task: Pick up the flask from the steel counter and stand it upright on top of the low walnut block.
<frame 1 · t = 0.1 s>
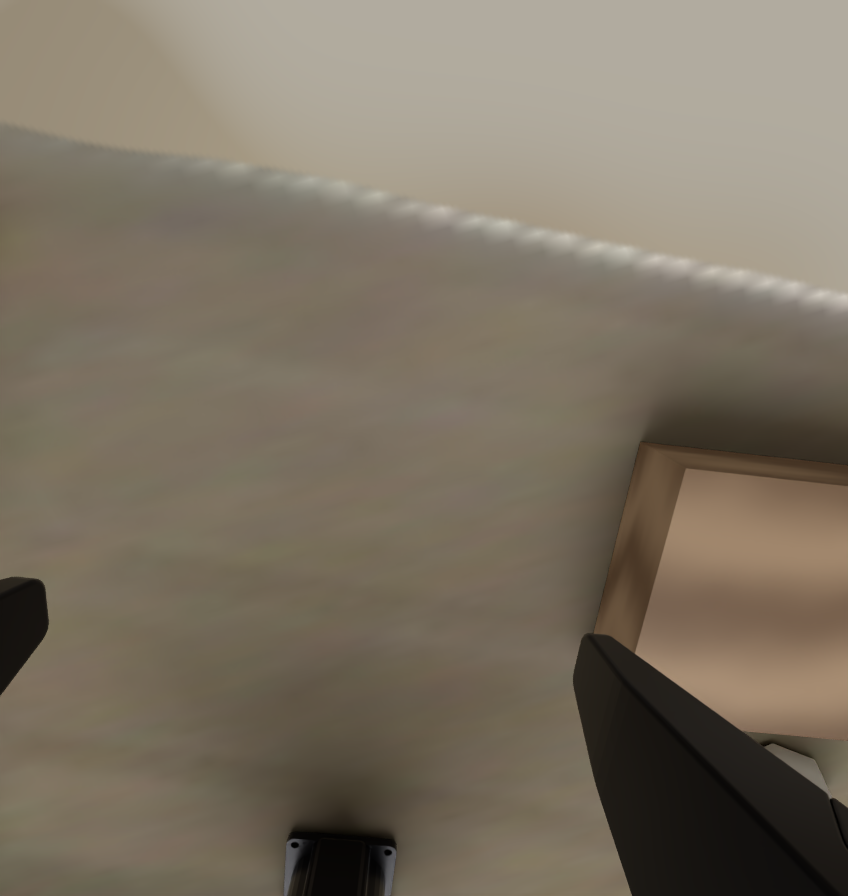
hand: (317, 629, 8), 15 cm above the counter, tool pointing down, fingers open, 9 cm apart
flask: (757, 788, 28), on the counter
walnut block: (728, 569, 24), on the counter
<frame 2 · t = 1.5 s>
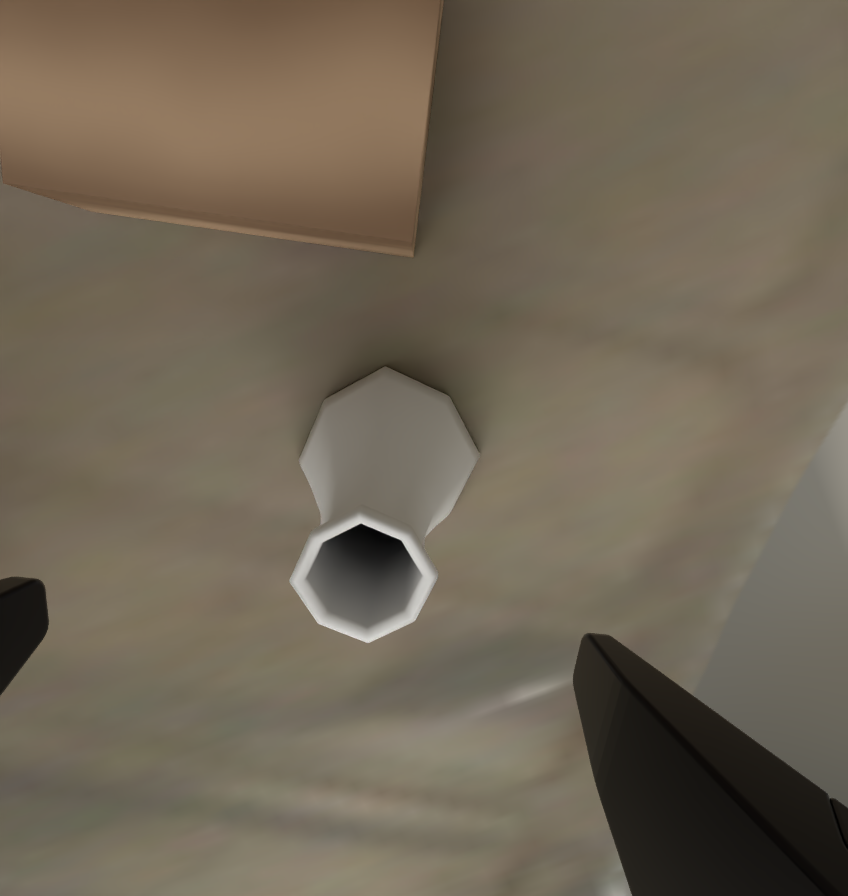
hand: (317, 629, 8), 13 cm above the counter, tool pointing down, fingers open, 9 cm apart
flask: (390, 454, 21), on the counter
walnut block: (262, 48, 17), on the counter
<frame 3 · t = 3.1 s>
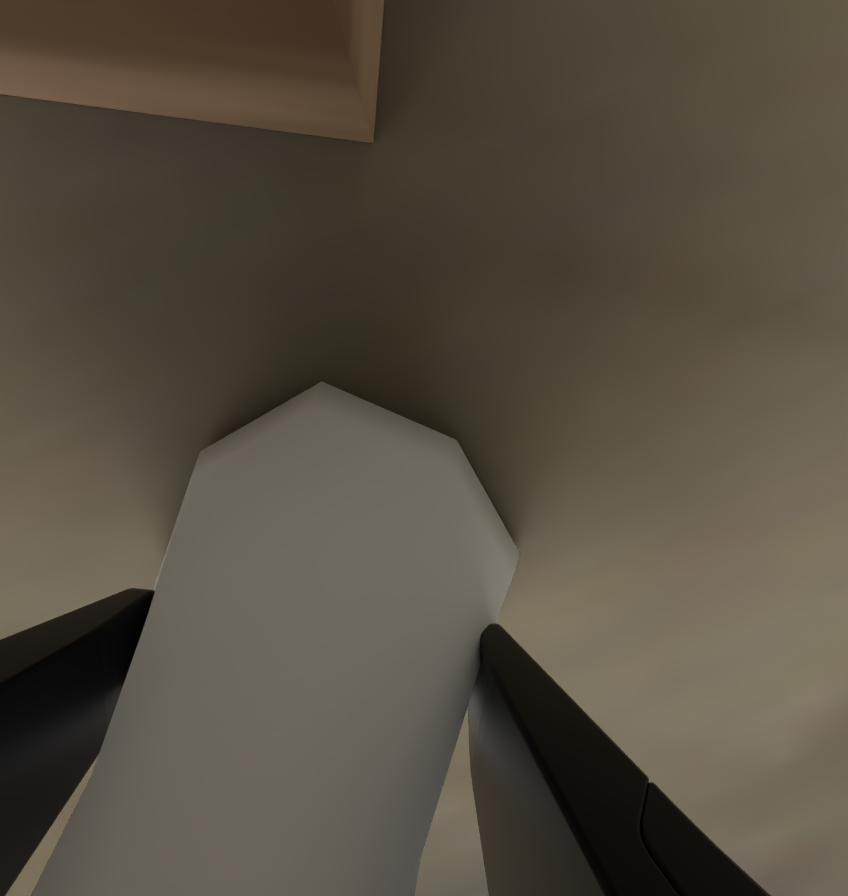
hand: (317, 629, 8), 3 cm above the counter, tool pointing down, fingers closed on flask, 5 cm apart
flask: (343, 550, 11), on the counter, touching gripper
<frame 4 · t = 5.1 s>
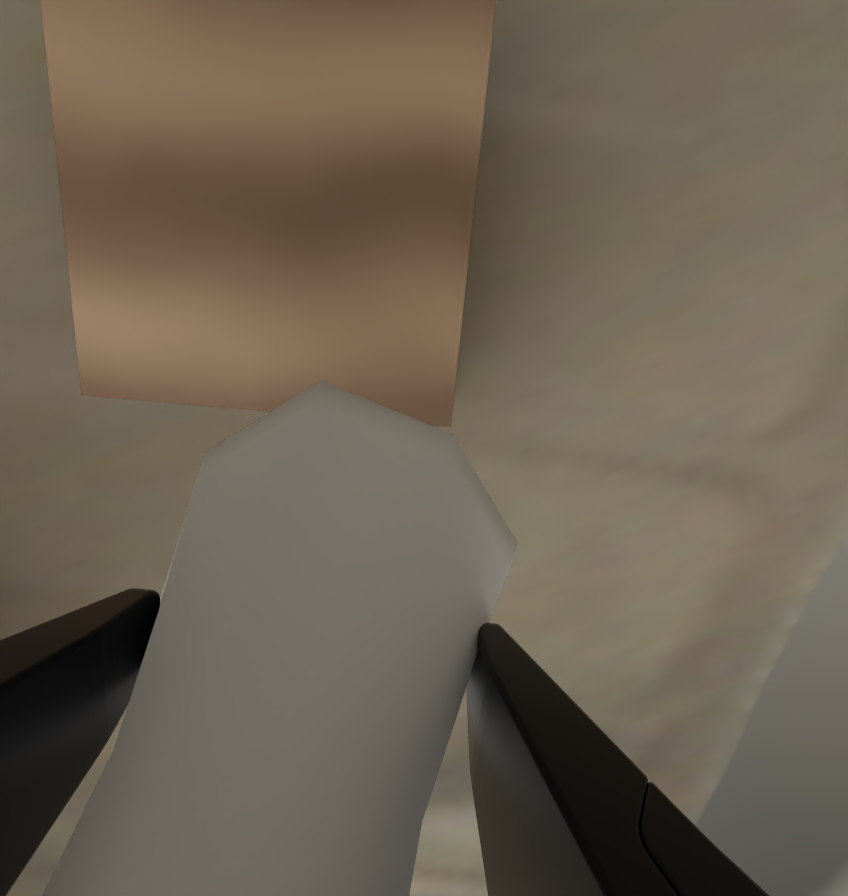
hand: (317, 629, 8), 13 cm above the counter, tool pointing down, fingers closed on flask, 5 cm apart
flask: (346, 545, 11), point 9 cm above the counter, touching gripper
walnut block: (301, 233, 18), on the counter
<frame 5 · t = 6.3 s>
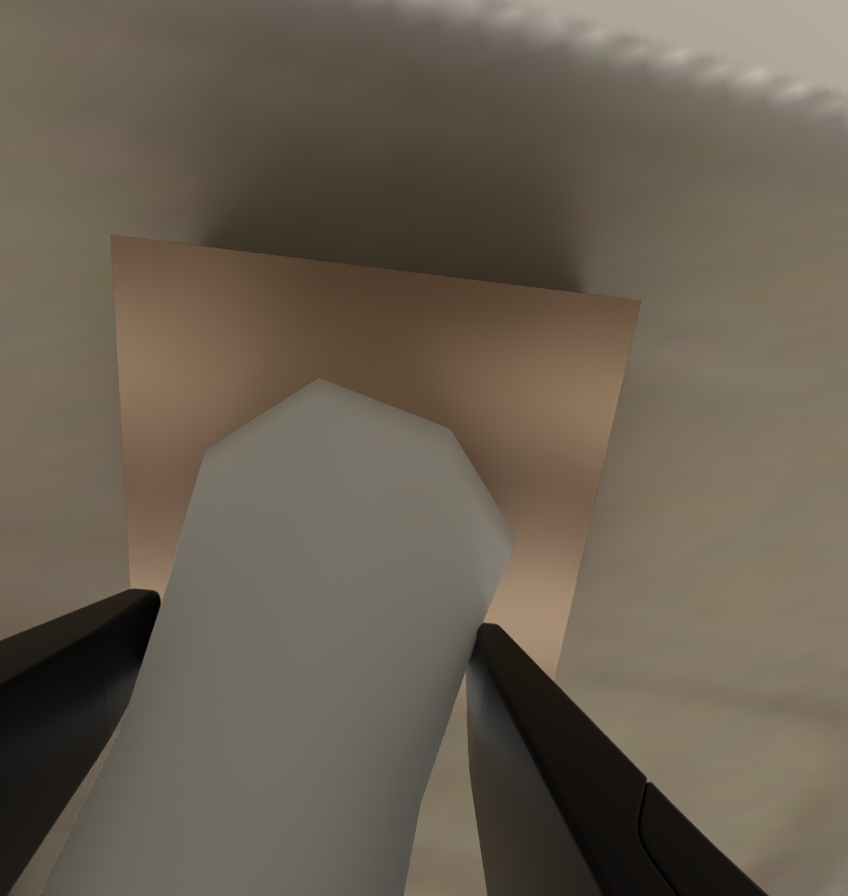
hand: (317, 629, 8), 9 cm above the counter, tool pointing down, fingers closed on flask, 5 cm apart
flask: (346, 540, 11), point 5 cm above the counter, touching gripper
walnut block: (374, 465, 16), on the counter
when the fingers open (7 cm above the counter, at t = 7.3 s): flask stays where it is, resting on walnut block.
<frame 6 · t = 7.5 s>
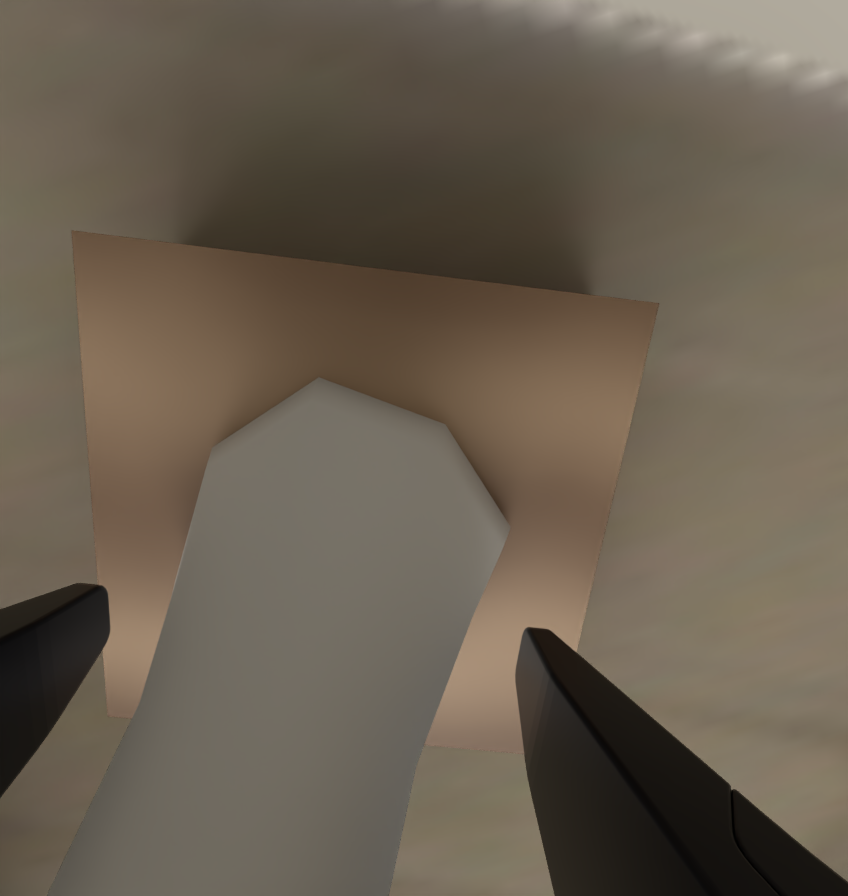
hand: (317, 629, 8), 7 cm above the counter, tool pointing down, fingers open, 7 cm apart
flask: (348, 533, 12), point 4 cm above the counter, touching walnut block
walnut block: (368, 479, 15), on the counter
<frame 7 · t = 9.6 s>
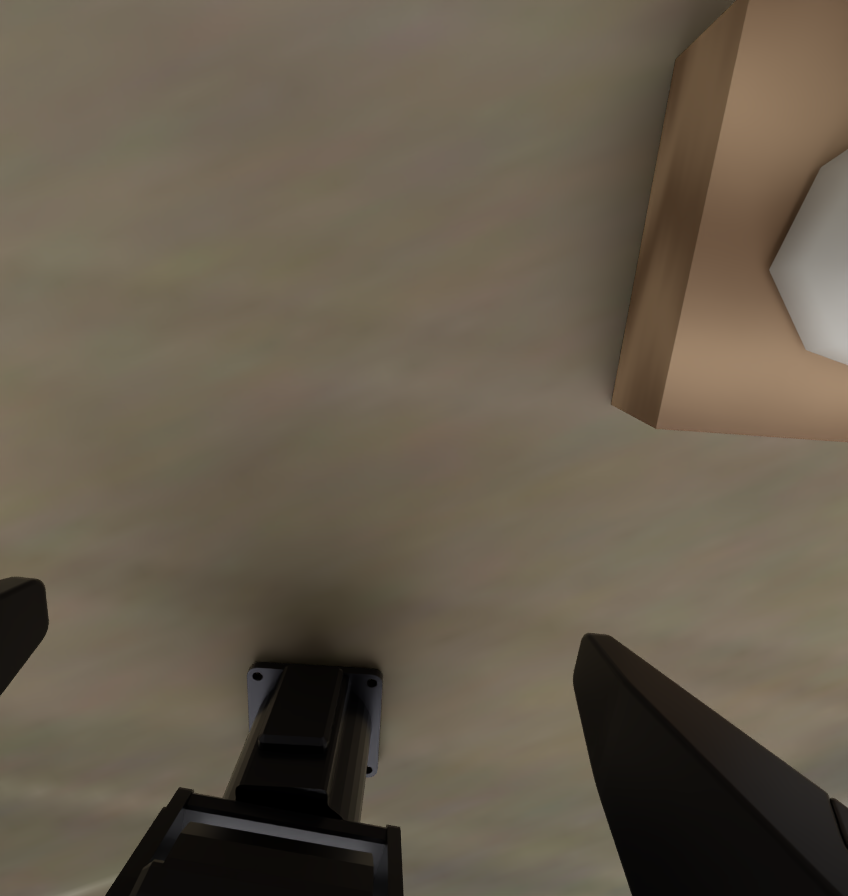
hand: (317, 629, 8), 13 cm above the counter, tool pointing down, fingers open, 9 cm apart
walnut block: (796, 260, 18), on the counter
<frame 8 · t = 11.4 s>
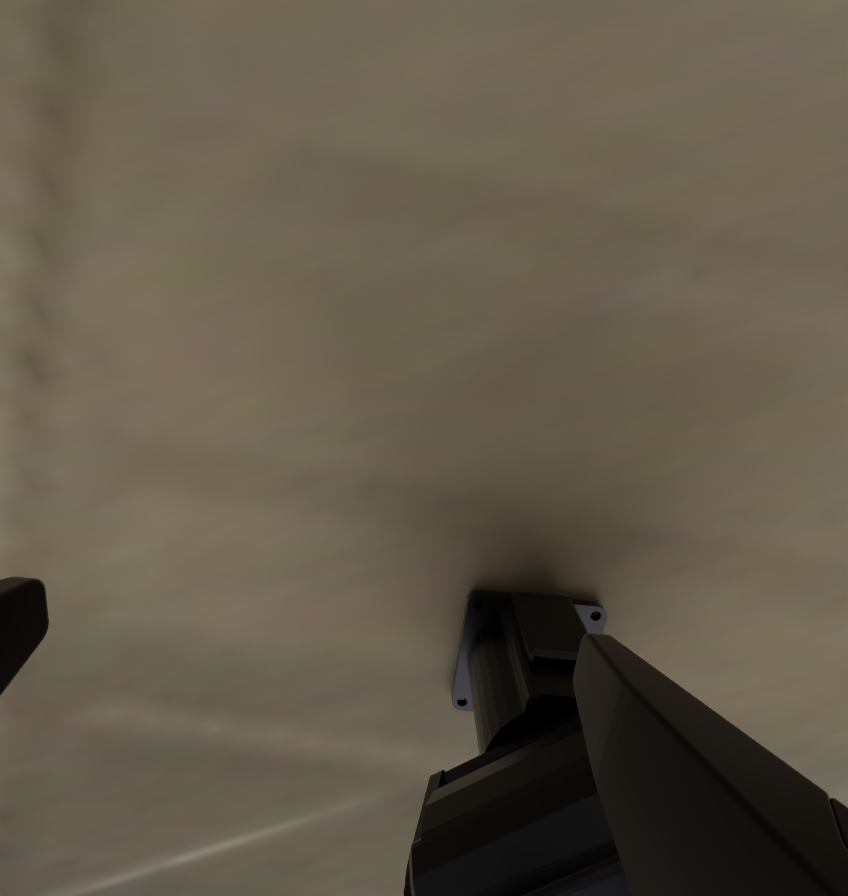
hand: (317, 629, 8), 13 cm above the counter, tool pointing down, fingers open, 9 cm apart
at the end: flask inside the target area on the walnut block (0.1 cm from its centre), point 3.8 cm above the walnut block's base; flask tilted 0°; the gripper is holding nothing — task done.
